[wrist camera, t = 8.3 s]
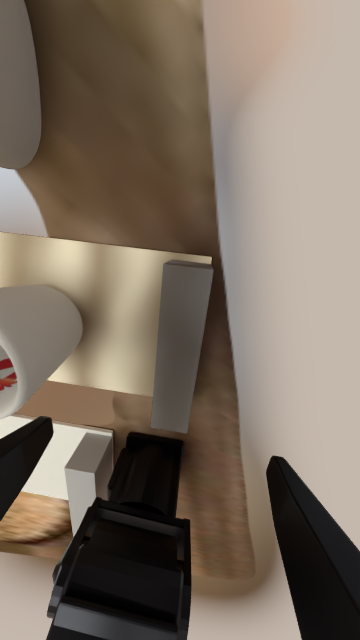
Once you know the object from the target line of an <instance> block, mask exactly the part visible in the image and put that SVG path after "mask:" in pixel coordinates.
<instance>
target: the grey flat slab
mask: <svg viewBox="0 0 360 640" xmlns="http://www.w3.org/2000/svg"><path fill="white" fill-rule="evenodd" d="M36 418H38V417H32V416H26V415H20V414H15V413H14V414H12V415H10V416H8V417H6V418H3V419H0V439H1V438H3V437H4V436H6V435H8V434H10V433H11V432H13V431H15V430H17V429H18V428H20V427H22V426H24V425H25V424H27V423H29V422H31V421H33V420H34V419H36ZM52 423H53V430H54V433H53V437H52V439H51V441H50V442H49V444H48V446H47V448H46V450H45V451H44V453H43V455H42V457H41V458H40V460H39V462H38V464H37V466H36V467H35V469H34V471H33V473H32V474H31V476H30V478H29V479H28V481H27V482H26V484H25V485H24V487H23V488H22V490H21V491H24V492H29V493H34V494H39V495H45V496H50V497H55V498H60V499H65V500H69V507H70V515H71V522H72V530H73V537H74V536H75V534H76V532H77V530H78V528H79V526H80V524H81V522H82V520H83V518H84V515H85V513H86V511H87V508H88V507H90V506H92V504H93V502H94V500H95V498H96V497H100V498H102V499H103V500H107V501H108V498H107V485H108V483H109V480H110V478H111V475H112V473H113V470H114V464H113V430H108V429H102V428H96V427H90V426H85V425H79V424H73V423H67V422H61V421H56V420H52Z"/></svg>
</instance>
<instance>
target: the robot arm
mask: <svg viewBox="0 0 360 640" xmlns="http://www.w3.org/2000/svg"><path fill="white" fill-rule="evenodd" d="M53 433H54V430H53V423H52V419H51V418H50V417H46V416H40V417H38V418H36V419H34V420H33V421H31V422H29V423H27V424H25V425H24V426H22V427H20V428H18V429H17V430H15V431H13V432H11V433H10V434H8V435H6V436H4V437H3V438H1V439H0V521H1V520H2V518H3V517H4V515H5V514H6V512H7V511H8V509H9V508H10V506H11V505H12V503H13V502H14V500H15V499H16V497H17V496H18V494H19V493H20V491H21V490H22V488H23V487H24V485H25V484H26V482H27V481H28V479H29V478H30V476H31V474H32V473H33V471H34V469H35V467H36V466H37V464H38V462H39V460H40V458H41V457H42V455H43V453H44V451H45V450H46V448H47V446H48V444H49V442H50V441H51V439H52V437H53ZM183 452H184V443H183V442H182V441H177V440H171V439H165V438H159V437H154V436H148V435H142V434H136V433H129V434H128V436H127V442H126V448H123V449H122V450H121V452H120V455H119V457H118V460H117V462H116V465H115V468H114V470H113V473H112V475H111V478H110V480H109V483H108V485H107V498H108V501H107V500H103V499H102V498H100V497H96V498H95V500H94V502H93V504H92V506H90V507H88V508H87V511H86V513H85V515H84V518H83V520H82V522H81V524H80V526H79V528H78V530H77V532H76V534H75V536H74V537H73V539H72V541H71V542H70V544H69V545H68V547H67V549H66V550H65V552H64V553H63V555H62V557H61V558H60V560H59V562H58V563H57V565H56V567H55V569H54V572H53V581H54V587H53V591H52V596H51V600H50V603H49V607H48V611H47V617H48V618H52V619H53V621H52V624H51V627H50V630H49V633H48V636H47V639H46V640H187V634H188V627H189V617H190V606H191V543H190V520H189V519H185V518H184V519H179V518H176V509H177V499H178V488H179V478H180V470H181V464H182V458H183ZM266 476H267V483H268V489H269V496H270V502H271V509H272V515H273V521H274V527H275V531H276V535H277V540H278V544H279V548H280V552H281V556H282V560H283V564H284V568H285V572H286V576H287V580H288V585H289V588H290V593H291V597H292V601H293V605H294V609H295V613H296V617H297V621H298V626H299V630H300V634H301V638H302V640H360V551H359V550H358V548H357V547H356V546H355V545H354V544H353V542H352V541H351V540H350V539H349V537H348V536H347V535H346V534H345V532H344V531H343V530H342V529H341V528H340V526H339V525H338V524H337V523H336V521H335V520H334V519H333V518H332V516H331V515H330V514H329V513H328V511H327V510H326V509H325V508H324V507H323V505H322V504H321V503H320V502H319V501H318V499H317V498H316V497H315V495H314V494H313V493H312V492H311V491H310V489H309V488H308V487H307V486H306V485H305V483H304V482H303V481H302V480H301V478H300V477H299V476H298V475H297V473H296V472H295V471H294V470H293V468H292V467H291V466H290V465H289V463H288V462H287V461H286V460H285V459H284V458H283V457H279V456H272V457H271V459H270V462H269V464H268V467H267V470H266Z"/></svg>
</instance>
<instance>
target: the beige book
mask: <svg viewBox="0 0 360 640" xmlns="http://www.w3.org/2000/svg"><path fill="white" fill-rule="evenodd" d="M211 261H212V257H207V256H199V255H190V254H182V253H173V252H165V251H157V250H148V249H140V248H132V247H123V246H115V245H107V244H98V243H90V242H81V241H73V240H65V239H56V238H48V237H40V236H31V235H22V234H14V233H5V232H0V288H1V287H11V286H21V285H41V286H46V287H50V288H53V289H55V290H57V291H59V292H61V293H62V294H64V295H65V296H66V297H68V298H69V299H70V300H71V301H72V302H73V304H74V305H75V306H76V308H77V309H78V311H79V313H80V316H81V319H82V324H83V332H82V337H81V340H80V342H79V344H78V345H77V347H76V348H75V350H74V351H73V352H72V353H71V354H70V356H69V357H68V358H67V359H66V360H65V361H64V362H63V363H62V364H61V365H60V366H59V367H58V369H57V370H56V371H55V372H54V373H53V374H52V375H51V376H50V377H49V378H48V379H47V380H50V381H57V382H63V383H69V384H75V385H82V386H88V387H94V388H100V389H106V390H113V391H119V392H125V393H131V394H138V395H144V396H150V397H153V402H152V415H151V428H157V429H163V430H169V431H175V432H181V433H186V434H187V430H188V424H189V418H190V412H191V406H192V400H193V394H194V388H195V382H196V376H197V370H198V363H199V357H200V351H201V345H202V339H203V333H204V327H205V321H206V315H207V309H208V303H209V297H210V290H211V284H212V278H213V272H214V269H213V267H212V265H211Z"/></svg>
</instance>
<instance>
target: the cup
mask: <svg viewBox="0 0 360 640" xmlns="http://www.w3.org/2000/svg"><path fill="white" fill-rule="evenodd" d="M82 332H83V324H82V319H81V316H80V313H79V311H78V309H77V308H76V306H75V305H74V304H73V302H72V301H71V300H70V299H69V298H68V297H66V296H65V295H64V294H62V293H61V292H59V291H57V290H55V289H53V288H50V287H46V286H41V285H21V286H11V287H1V288H0V419H3V418H6V417H8V416H10V415H12V414H14V413H15V412H16V411H18V410H19V409H20V408H21V407H22V406H23V405H24V404H25V403H26V402H27V401H28V400H29V399H30V398H31V397H32V395H33V394H34V393H35V392H36V391H37V390H38V389H39V388H40V387H41V386H42V385H43V383H44V382H45V381H46V380H47V379H48V378H49V377H50V376H51V375H52V374H53V373H54V372H55V371H56V370H57V369H58V367H59V366H60V365H61V364H62V363H63V362H64V361H65V360H66V359H67V358H68V357H69V356H70V354H71V353H72V352H73V351H74V350H75V348H76V347H77V345H78V344H79V342H80V340H81V337H82Z"/></svg>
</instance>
